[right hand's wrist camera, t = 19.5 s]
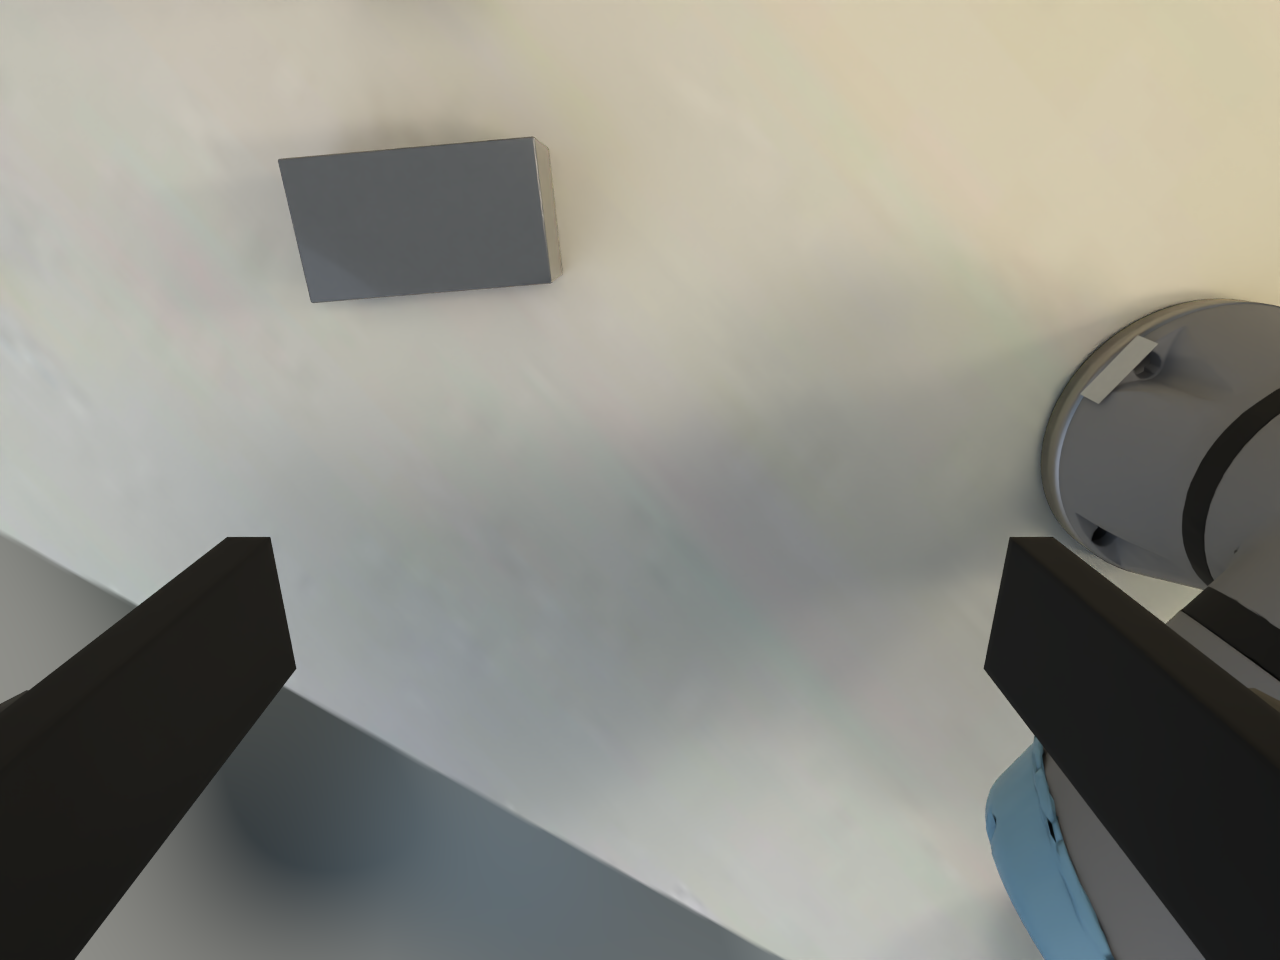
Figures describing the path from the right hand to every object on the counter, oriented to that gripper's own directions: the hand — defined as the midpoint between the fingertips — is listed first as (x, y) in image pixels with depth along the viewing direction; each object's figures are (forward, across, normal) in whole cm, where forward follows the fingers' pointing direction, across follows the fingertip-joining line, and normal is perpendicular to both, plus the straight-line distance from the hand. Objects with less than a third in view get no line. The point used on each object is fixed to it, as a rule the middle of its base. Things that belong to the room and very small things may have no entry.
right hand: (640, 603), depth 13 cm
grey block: (+27, +10, -6) cm, 29 cm away
